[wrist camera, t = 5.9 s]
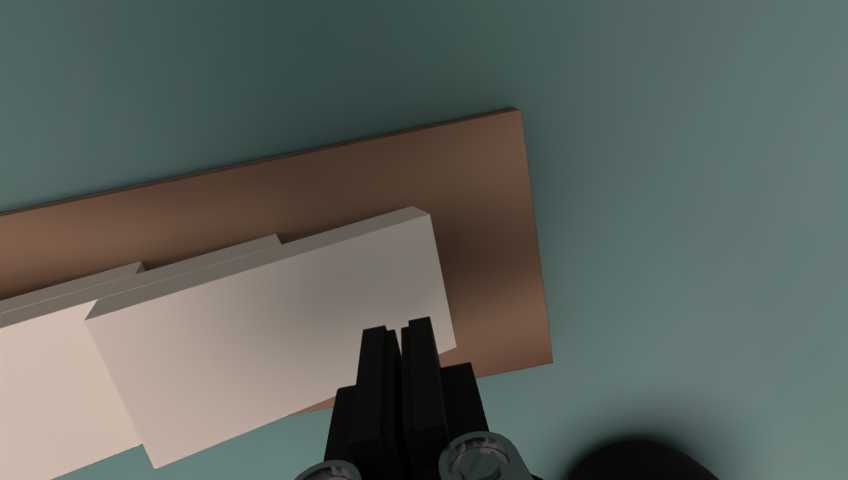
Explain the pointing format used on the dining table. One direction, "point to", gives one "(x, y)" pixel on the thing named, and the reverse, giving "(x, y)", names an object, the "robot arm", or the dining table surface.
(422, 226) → the tile
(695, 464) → the mug
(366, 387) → the robot arm
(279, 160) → the brown flat slab
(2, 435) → the tile
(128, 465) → the dining table surface
